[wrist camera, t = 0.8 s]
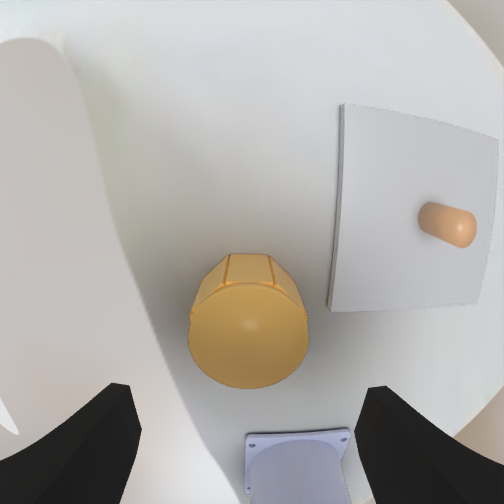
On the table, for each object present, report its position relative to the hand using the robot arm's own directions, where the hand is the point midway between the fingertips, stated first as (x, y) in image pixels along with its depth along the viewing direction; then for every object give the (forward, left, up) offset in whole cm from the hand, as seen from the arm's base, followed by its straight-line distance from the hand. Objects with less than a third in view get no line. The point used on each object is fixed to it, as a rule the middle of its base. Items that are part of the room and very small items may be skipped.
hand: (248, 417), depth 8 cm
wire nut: (0, 0, -9) cm, 9 cm away
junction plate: (+5, -10, -9) cm, 14 cm away
